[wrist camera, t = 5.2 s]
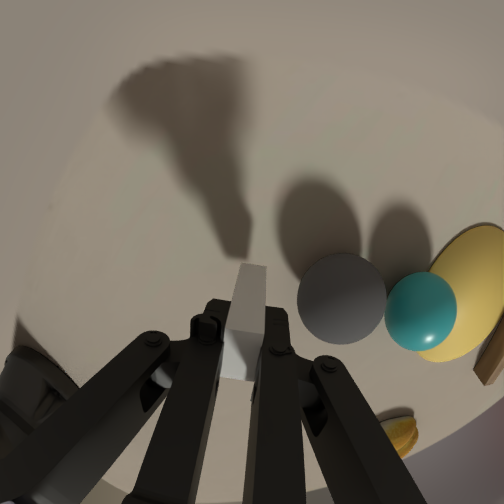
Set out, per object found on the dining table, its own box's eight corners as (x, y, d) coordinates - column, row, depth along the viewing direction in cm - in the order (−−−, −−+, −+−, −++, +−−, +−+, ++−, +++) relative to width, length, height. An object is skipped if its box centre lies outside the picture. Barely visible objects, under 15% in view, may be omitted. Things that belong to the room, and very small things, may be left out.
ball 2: (360, 327, 19) (403, 375, 14) (384, 258, 17) (442, 298, 12) (407, 319, 20) (448, 357, 15) (430, 260, 18) (480, 292, 13)
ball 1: (375, 368, 13) (368, 321, 18) (407, 281, 12) (387, 250, 17) (283, 353, 15) (297, 309, 20) (299, 262, 13) (309, 236, 18)
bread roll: (409, 404, 24) (420, 429, 20) (417, 431, 26) (425, 452, 22) (344, 434, 25) (350, 460, 22) (363, 455, 28) (368, 477, 24)
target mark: (385, 362, 21) (386, 364, 21) (443, 208, 16) (445, 208, 16) (479, 357, 21) (479, 358, 21) (528, 241, 16) (529, 241, 16)
